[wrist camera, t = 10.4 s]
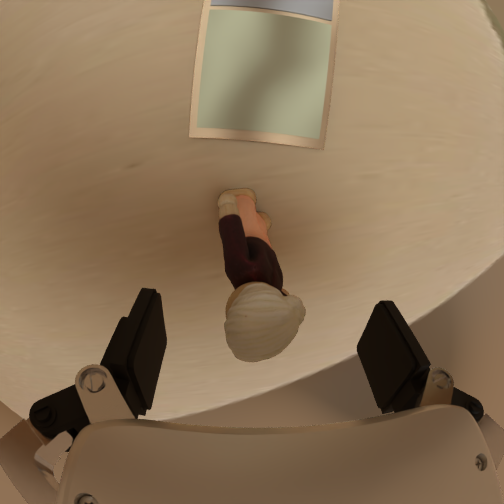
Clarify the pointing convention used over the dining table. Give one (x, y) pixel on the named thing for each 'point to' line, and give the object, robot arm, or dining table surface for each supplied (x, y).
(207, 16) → the board
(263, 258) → the grandmother figurine
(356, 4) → the dining table surface
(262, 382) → the dining table surface
